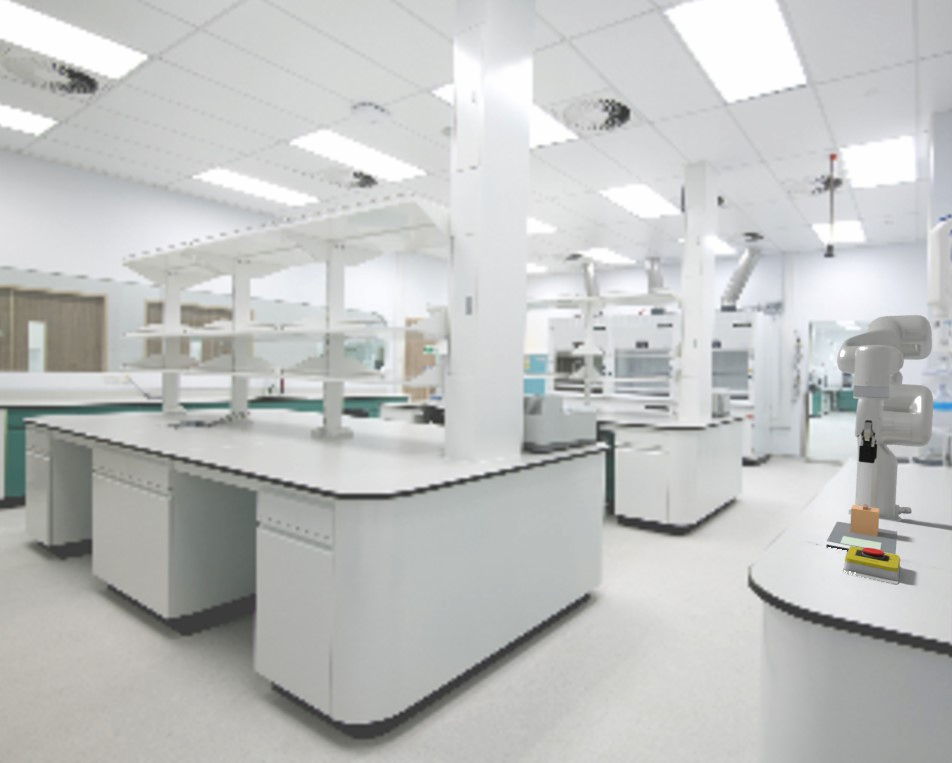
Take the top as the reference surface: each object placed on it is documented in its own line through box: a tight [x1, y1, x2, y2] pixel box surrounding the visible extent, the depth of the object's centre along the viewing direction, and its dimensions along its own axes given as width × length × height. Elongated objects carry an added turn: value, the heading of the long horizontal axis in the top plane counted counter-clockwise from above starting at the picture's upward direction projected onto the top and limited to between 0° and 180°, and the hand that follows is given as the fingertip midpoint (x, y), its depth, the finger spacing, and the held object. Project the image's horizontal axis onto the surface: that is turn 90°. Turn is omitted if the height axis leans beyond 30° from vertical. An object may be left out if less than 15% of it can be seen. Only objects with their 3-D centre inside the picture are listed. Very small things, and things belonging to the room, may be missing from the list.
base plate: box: [825, 521, 898, 555], centre depth 136 cm, size 24×13×6 cm, turn 141°
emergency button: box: [841, 546, 901, 585], centre depth 116 cm, size 9×4×15 cm
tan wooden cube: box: [850, 504, 880, 536], centre depth 140 cm, size 6×6×7 cm
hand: (867, 460), depth 140 cm, fingers open, 9 cm apart
